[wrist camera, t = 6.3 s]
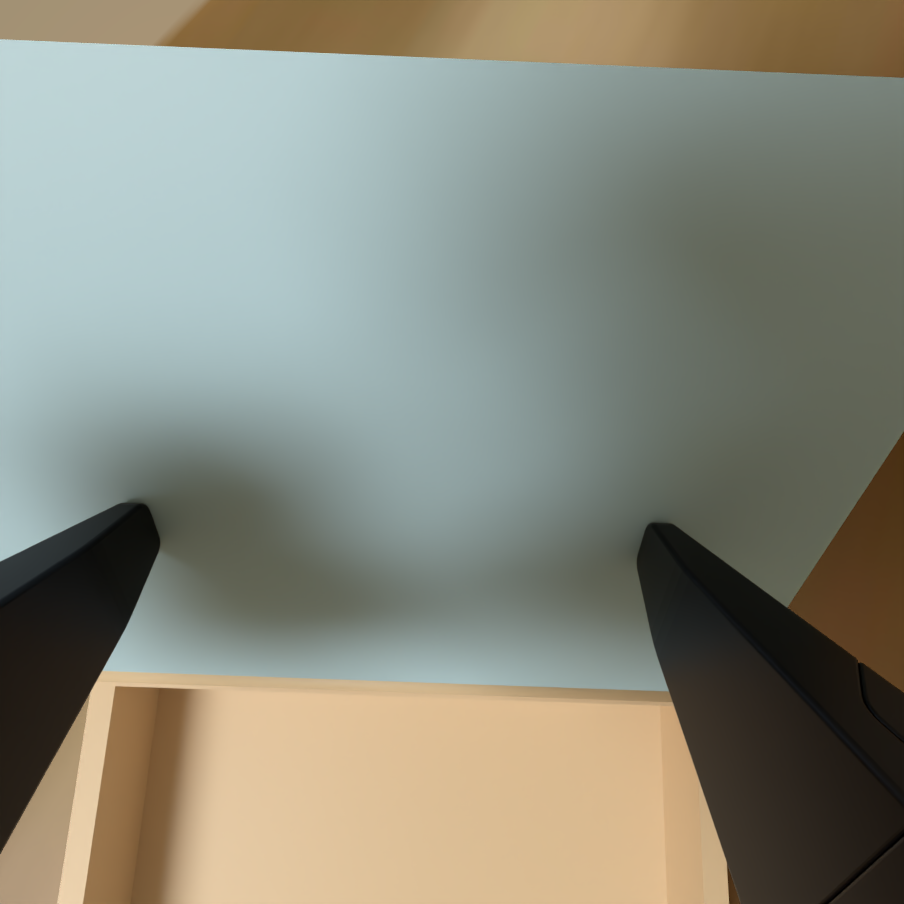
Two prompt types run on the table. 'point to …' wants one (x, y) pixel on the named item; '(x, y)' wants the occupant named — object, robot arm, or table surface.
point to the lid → (438, 348)
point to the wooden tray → (384, 800)
